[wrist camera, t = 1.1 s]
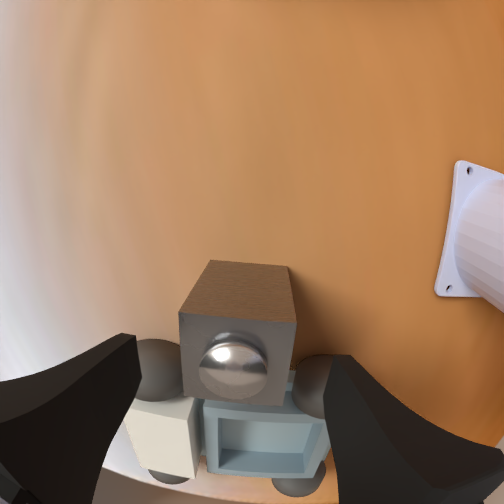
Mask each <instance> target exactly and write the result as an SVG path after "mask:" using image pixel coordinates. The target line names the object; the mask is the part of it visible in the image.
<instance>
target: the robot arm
mask: <svg viewBox="0 0 504 504" xmlns="http://www.w3.org/2000/svg"><path fill="white" fill-rule="evenodd" d="M467 168H469V174H468V173H467ZM449 285H450V287H449V289H448V290H446V289H447V287H448V286H449ZM434 291H435V293H436V294H437V295H438V296H446V297H483V298H484V299H486V300H487V301H488V302H490V303H491V304H492V305H494V306H495V307H496V308H498V309H499V310H500V311H502V312H503V313H504V174H502V173H499V172H496V171H493V170H491V169H488V168H485V167H482V166H479V165H476V164H473V163H470V162H467V161H457V162H456V164H455V167H454V178H453V188H452V197H451V205H450V212H449V219H448V225H447V231H446V236H445V242H444V247H443V252H442V257H441V261H440V266H439V270H438V274H437V278H436V282H435V286H434ZM141 380H142V373H141V367H140V361H139V355H138V348H137V341H136V335H130V334H125V333H120V334H118V335H116V336H114V337H112V338H110V339H108V340H106V341H104V342H102V343H101V344H99V345H97V346H95V347H93V348H91V349H89V350H88V351H86V352H84V353H82V354H80V355H78V356H76V357H74V358H72V359H70V360H68V361H66V362H63V363H61V364H59V365H57V366H55V367H52V368H50V369H47V370H44V371H41V372H38V373H36V374H32V375H29V376H25V377H21V378H17V379H13V380H8V381H2V382H0V504H92V500H93V496H94V491H95V488H96V484H97V480H98V477H99V474H100V471H101V467H102V465H103V462H104V459H105V456H106V453H107V451H108V448H109V446H110V444H111V442H112V439H113V438H114V436H115V434H116V432H117V430H118V428H119V426H120V425H121V423H122V421H123V419H124V417H125V415H126V414H127V412H128V410H129V408H130V406H131V404H132V402H133V400H134V399H135V396H136V393H137V391H138V388H139V385H140V382H141ZM323 405H324V415H325V422H326V426H327V431H328V435H329V439H330V444H331V448H332V452H333V457H334V461H335V466H336V472H337V480H338V493H339V504H484V502H483V500H484V499H486V498H487V496H489V495H490V494H491V493H492V492H493V491H494V490H495V489H496V488H497V487H498V486H499V485H500V484H501V483H502V482H503V481H504V454H503V453H502V451H501V450H500V449H497V448H494V447H490V446H486V445H482V444H478V443H475V442H472V441H469V440H467V439H464V438H461V437H459V436H456V435H454V434H452V433H450V432H448V431H446V430H444V429H442V428H440V427H438V426H436V425H434V424H432V423H431V422H429V421H427V420H425V419H424V418H422V417H421V416H419V415H418V414H416V413H415V412H413V411H412V410H410V409H409V408H408V407H406V406H405V405H404V404H403V403H401V402H400V401H399V400H398V399H396V398H395V397H394V396H393V395H392V394H390V393H389V392H388V391H387V390H386V389H385V388H384V387H383V386H381V385H380V384H379V383H378V382H377V381H376V380H375V379H374V378H373V377H372V376H371V375H370V374H369V373H368V372H367V371H366V370H365V369H364V368H363V367H362V366H361V365H360V364H359V363H358V362H357V361H356V360H355V359H354V358H353V357H352V356H351V355H334V357H333V361H332V364H331V368H330V372H329V376H328V379H327V383H326V386H325V390H324V393H323Z"/></svg>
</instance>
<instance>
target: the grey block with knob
mask: <svg viewBox="0 0 504 504" xmlns="http://www.w3.org/2000/svg"><path fill="white" fill-rule="evenodd" d="M296 327H297V319H296V313H295V308H294V302H293V296H292V290H291V285H290V279H289V274H288V268H287V266H278V265H266V264H254V263H242V262H230V261H218V260H210V262H209V263H208V265H207V266H206V268H205V270H204V271H203V273H202V274H201V276H200V278H199V279H198V281H197V282H196V284H195V286H194V287H193V289H192V291H191V292H190V294H189V295H188V297H187V299H186V300H185V302H184V304H183V305H182V307H181V309H180V310H179V333H180V350H181V365H182V378H183V389H184V396H187V397H194V398H200V399H207V400H215V401H223V402H232V403H242V404H254V405H268V406H283V401H284V396H285V390H286V385H287V380H288V374H289V369H290V363H291V357H292V351H293V345H294V339H295V333H296Z"/></svg>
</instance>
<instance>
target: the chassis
mask: <svg viewBox="0 0 504 504" xmlns="http://www.w3.org/2000/svg"><path fill="white" fill-rule="evenodd" d="M137 348H138V355H139V361H140V367H141V373H142V380H141V382H140V385H139V388H138V391H137V393H136V396H135V399H134V400H133V402H132V404H131V406H130V408H129V410H128V412H127V414H126V415H125V417H124V421H125V424H126V427H127V430H128V433H129V436H130V439H131V442H132V445H133V448H134V450H135V453H136V456H137V458H138V461H139V463H140V466H141V467H143V468H146V469H148V470H149V472H150V474H151V475H152V476H153V477H154V478H155V479H156V480H158V481H160V482H162V483H166V484H180V483H183V482H185V481H187V480H189V479H190V478H192V479H195V478H196V474H197V469H198V465H199V461H200V456H201V455H202V456H206V460H207V472H210V473H218V474H226V475H235V476H246V477H261V478H272V483H273V485H274V487H275V488H276V489H277V490H278V491H279V492H281V493H282V494H284V495H287V496H290V497H304V496H307V495H310V494H312V493H313V492H315V491H316V490H317V489H318V487H319V486H320V484H321V482H322V480H323V478H324V476H325V473H326V467H325V464H324V461H325V459H326V457H327V454H328V452H329V450H330V448H331V444H330V439H329V435H328V431H327V426H326V422H325V415H324V405H323V393H324V390H325V386H326V383H327V379H328V376H329V372H330V368H331V364H332V361H333V357H334V356H333V355H316V356H312V357H309V358H306V359H304V360H303V361H301V362H300V363H299V364H298V366H297V368H296V370H289V374H288V380H287V385H286V390H285V396H284V401H283V406H268V405H254V404H242V403H232V402H223V401H215V400H207V399H200V398H194V397H187V396H184V389H183V378H182V365H181V350H180V347H179V346H178V345H176V344H174V343H172V342H169V341H166V340H161V339H144V340H139V341H137Z"/></svg>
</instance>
